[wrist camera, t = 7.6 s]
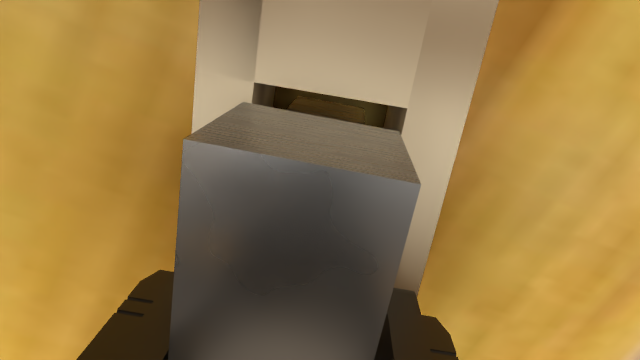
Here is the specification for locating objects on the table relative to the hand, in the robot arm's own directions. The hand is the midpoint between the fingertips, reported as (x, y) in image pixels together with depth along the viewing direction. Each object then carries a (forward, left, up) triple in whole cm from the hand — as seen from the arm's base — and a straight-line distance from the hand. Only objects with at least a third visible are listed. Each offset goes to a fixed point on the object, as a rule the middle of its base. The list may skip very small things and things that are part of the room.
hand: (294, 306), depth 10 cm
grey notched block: (0, 0, -5) cm, 5 cm away
